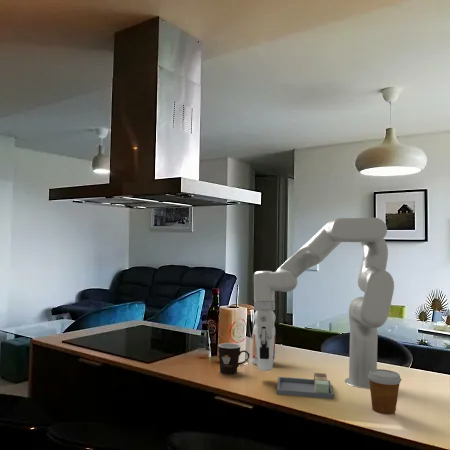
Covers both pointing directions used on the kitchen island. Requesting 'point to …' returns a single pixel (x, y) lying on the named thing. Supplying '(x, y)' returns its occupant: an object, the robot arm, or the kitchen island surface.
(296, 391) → the tray
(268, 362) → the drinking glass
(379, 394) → the disposable coffee cup
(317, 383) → the sage painted block
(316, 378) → the beech block
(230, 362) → the coffee mug
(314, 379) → the walnut block
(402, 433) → the kitchen island surface
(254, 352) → the fruit juice
